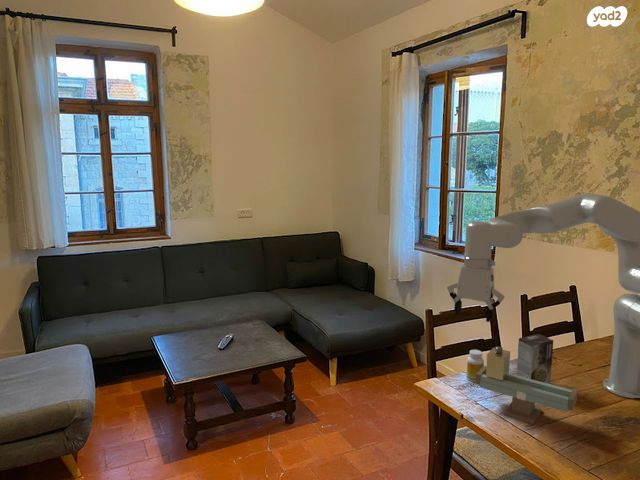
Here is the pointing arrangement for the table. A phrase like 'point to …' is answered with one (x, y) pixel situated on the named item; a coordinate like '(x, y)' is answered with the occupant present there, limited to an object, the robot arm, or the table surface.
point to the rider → (498, 363)
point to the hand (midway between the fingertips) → (473, 317)
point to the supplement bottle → (474, 364)
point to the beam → (528, 395)
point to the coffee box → (535, 358)
